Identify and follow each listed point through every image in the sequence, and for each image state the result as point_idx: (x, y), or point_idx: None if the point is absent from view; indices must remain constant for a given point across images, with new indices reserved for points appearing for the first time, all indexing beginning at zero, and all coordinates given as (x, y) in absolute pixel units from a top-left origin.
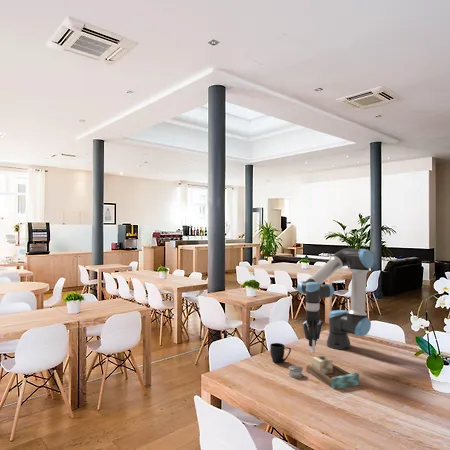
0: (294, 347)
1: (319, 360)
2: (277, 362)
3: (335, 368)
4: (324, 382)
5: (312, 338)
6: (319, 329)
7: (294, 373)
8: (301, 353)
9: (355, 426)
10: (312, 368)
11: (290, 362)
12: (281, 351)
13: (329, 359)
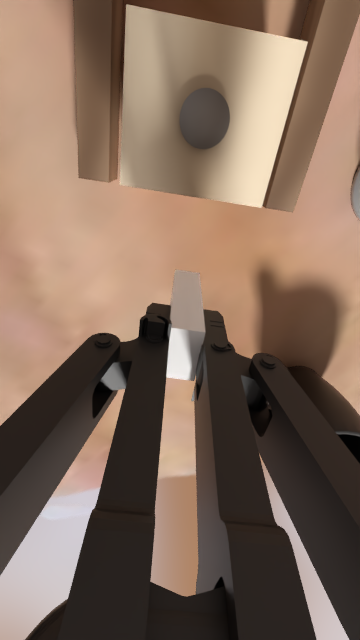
0: (96, 460)
1: (278, 83)
2: (314, 371)
3: (113, 21)
4: None
5: (206, 357)
6: (15, 461)
7: None
8: (112, 406)
9: None
10: (308, 131)
11: (250, 349)
12: (332, 407)
13: (153, 41)
